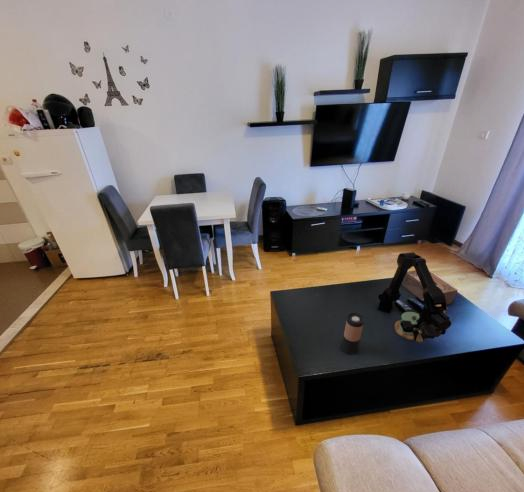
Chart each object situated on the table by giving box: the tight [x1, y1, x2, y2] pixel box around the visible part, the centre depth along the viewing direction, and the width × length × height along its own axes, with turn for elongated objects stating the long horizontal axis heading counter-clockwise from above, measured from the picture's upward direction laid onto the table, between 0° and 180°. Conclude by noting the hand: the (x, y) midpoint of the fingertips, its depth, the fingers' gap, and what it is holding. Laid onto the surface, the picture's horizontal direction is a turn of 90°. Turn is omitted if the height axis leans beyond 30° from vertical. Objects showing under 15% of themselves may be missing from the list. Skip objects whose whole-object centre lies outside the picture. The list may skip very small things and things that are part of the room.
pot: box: [399, 311, 424, 343], centre depth 142 cm, size 20×12×8 cm, turn 169°
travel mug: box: [341, 312, 365, 355], centre depth 133 cm, size 8×8×20 cm
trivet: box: [393, 319, 417, 342], centre depth 148 cm, size 15×15×1 cm
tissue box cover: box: [401, 269, 458, 306], centre depth 172 cm, size 26×14×10 cm, turn 16°
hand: (417, 340), depth 136 cm, fingers closed on pot, 2 cm apart
